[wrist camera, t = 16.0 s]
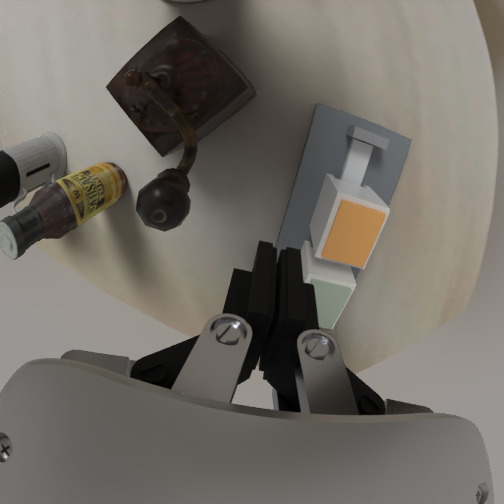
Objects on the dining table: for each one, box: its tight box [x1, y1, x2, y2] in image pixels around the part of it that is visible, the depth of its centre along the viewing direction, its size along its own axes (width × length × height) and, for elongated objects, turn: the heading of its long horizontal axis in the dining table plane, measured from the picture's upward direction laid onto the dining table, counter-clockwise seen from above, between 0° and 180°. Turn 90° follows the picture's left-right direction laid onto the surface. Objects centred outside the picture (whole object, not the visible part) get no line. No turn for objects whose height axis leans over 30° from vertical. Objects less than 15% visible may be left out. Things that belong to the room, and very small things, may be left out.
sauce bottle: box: [0, 162, 126, 260], centre depth 26 cm, size 6×6×20 cm
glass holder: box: [0, 132, 67, 215], centre depth 28 cm, size 9×14×15 cm, turn 53°
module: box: [309, 173, 391, 269], centre depth 28 cm, size 7×6×8 cm
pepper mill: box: [106, 16, 257, 231], centre depth 21 cm, size 16×11×18 cm
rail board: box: [275, 104, 411, 329], centre depth 31 cm, size 28×12×10 cm, turn 168°
